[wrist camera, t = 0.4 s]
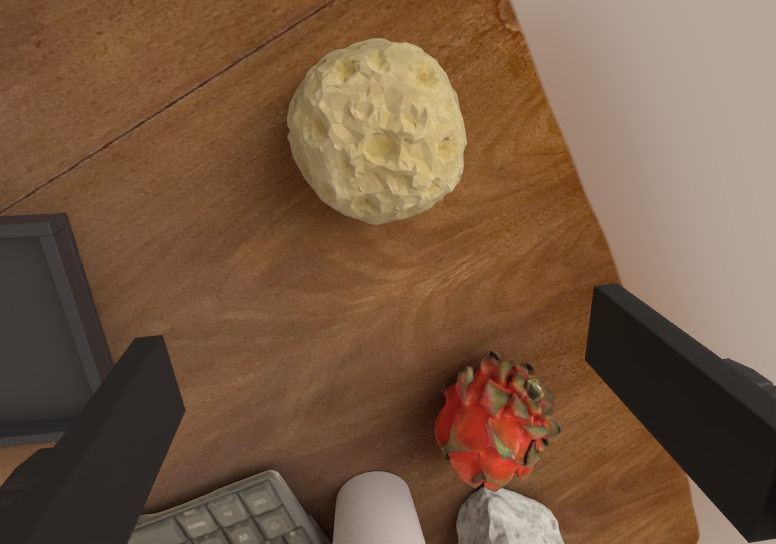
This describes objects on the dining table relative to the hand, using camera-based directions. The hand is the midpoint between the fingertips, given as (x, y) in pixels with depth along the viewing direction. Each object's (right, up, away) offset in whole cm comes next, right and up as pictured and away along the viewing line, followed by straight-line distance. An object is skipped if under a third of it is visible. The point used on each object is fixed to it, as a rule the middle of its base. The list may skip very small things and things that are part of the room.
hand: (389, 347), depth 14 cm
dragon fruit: (+7, -8, +23) cm, 25 cm away
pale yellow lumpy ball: (-1, +11, +14) cm, 18 cm away
